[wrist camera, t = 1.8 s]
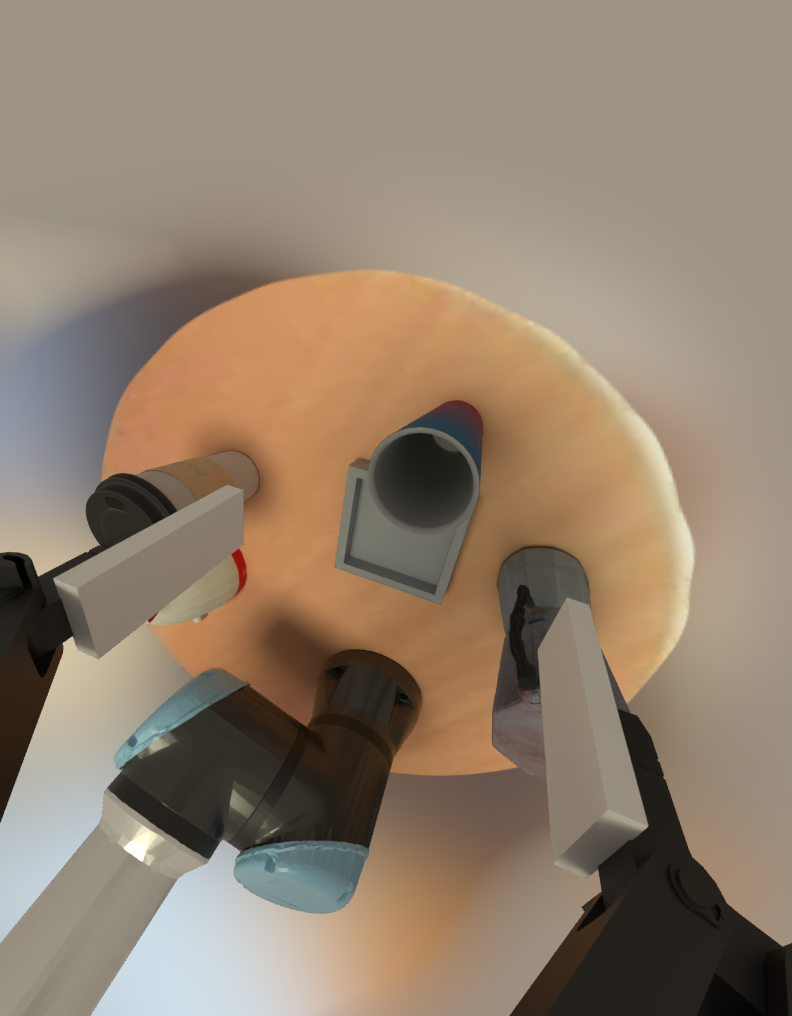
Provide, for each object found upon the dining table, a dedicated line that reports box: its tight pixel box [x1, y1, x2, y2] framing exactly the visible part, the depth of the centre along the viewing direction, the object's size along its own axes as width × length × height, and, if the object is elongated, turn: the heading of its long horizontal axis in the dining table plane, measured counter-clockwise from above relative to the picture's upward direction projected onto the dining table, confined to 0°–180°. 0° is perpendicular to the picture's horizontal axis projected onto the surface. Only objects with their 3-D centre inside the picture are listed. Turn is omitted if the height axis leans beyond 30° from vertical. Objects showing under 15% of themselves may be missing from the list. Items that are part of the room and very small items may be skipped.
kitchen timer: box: [145, 549, 247, 625], centre depth 46 cm, size 14×14×15 cm
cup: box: [368, 401, 483, 535], centre depth 28 cm, size 7×7×15 cm
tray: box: [334, 458, 474, 605], centre depth 40 cm, size 13×13×2 cm
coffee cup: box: [86, 451, 259, 545], centre depth 38 cm, size 9×9×15 cm
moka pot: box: [492, 548, 630, 780], centre depth 30 cm, size 10×15×20 cm, turn 32°
